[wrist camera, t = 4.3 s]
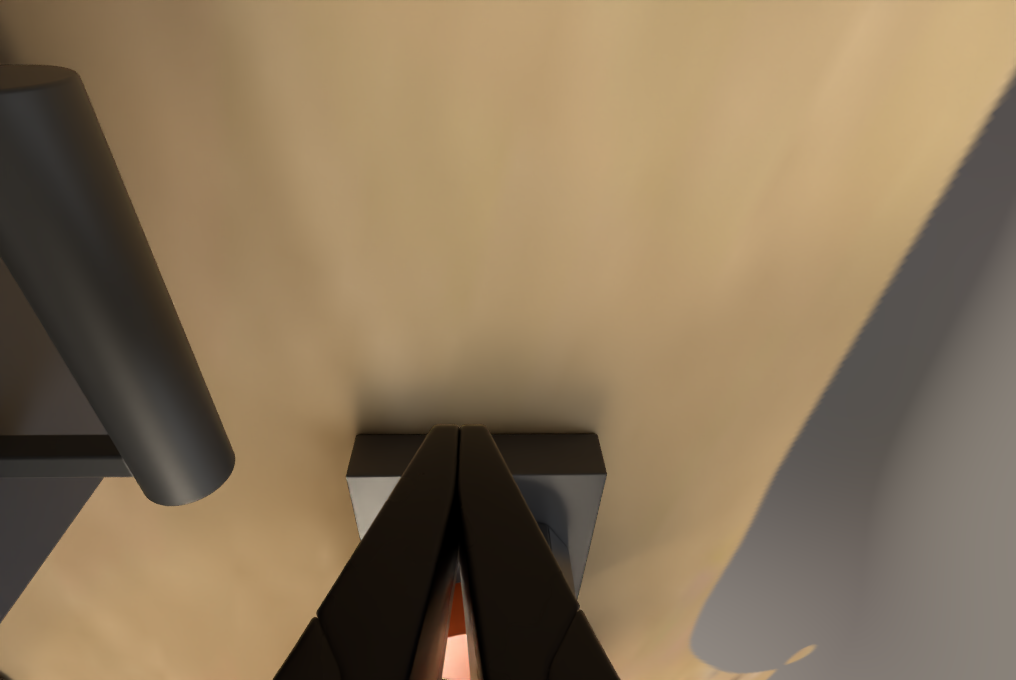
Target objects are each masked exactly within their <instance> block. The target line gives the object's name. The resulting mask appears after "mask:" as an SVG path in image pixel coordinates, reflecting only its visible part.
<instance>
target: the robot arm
mask: <svg viewBox="0 0 1016 680" xmlns="http://www.w3.org/2000/svg"><path fill="white" fill-rule="evenodd" d="M458 553H459V563H460V577H461V587H462V597H463V607H464V617H465V627H466V637H467V647H468V657H469V667H470V677H471V680H620V678H619V676H618V675H617V673H616V671H615V669H614V667H613V666H612V664H611V662H610V660H609V659H608V657H607V655H606V653H605V651H604V650H603V648H602V646H601V644H600V642H599V641H598V639H597V637H596V635H595V633H594V631H593V629H592V627H591V625H590V624H589V622H588V620H587V618H586V616H585V614H584V612H583V611H582V610H579V608H580V605H579V603H578V601H577V599H576V597H575V595H574V593H573V591H572V590H571V588H570V586H569V584H568V582H567V580H566V578H565V576H564V574H563V572H562V570H561V568H560V566H559V564H558V563H557V561H556V559H555V557H554V555H553V553H552V551H551V549H550V547H549V545H548V543H547V541H546V539H545V538H544V536H543V534H542V532H541V530H540V528H539V526H538V524H537V522H536V520H535V518H534V516H533V514H532V513H531V511H530V509H529V507H528V505H527V503H526V501H525V499H524V497H523V495H522V493H521V491H520V489H519V487H518V486H517V484H516V482H515V480H514V478H513V476H512V474H511V472H510V470H509V468H508V466H507V464H506V462H505V461H504V459H503V457H502V455H501V453H500V451H499V449H498V447H497V445H496V443H495V441H494V439H493V437H492V436H491V434H490V432H489V430H488V428H487V427H486V426H485V425H483V424H464V425H462V426H461V427H460V428H459V426H458V425H455V424H438V425H435V426H433V427H432V429H431V430H430V432H429V433H428V435H427V436H426V438H425V440H424V441H423V443H422V444H421V446H420V448H419V449H418V451H417V452H416V454H415V455H414V457H413V459H412V460H411V462H410V463H409V465H408V467H407V468H406V470H405V471H404V473H403V475H402V476H401V478H400V479H399V481H398V483H397V484H396V486H395V487H394V489H393V491H392V492H391V494H390V495H389V497H388V499H387V500H386V502H385V503H384V505H383V507H382V508H381V510H380V511H379V513H378V515H377V516H376V518H375V519H374V521H373V523H372V524H371V526H370V527H369V529H368V531H367V532H366V534H365V535H364V537H363V539H362V540H361V542H360V543H359V545H358V546H357V548H356V550H355V551H354V553H353V554H352V556H351V558H350V559H349V561H348V562H347V564H346V566H345V567H344V569H343V570H342V572H341V574H340V575H339V577H338V578H337V580H336V582H335V583H334V585H333V586H332V588H331V590H330V591H329V593H328V594H327V596H326V598H325V599H324V601H323V602H322V604H321V606H320V607H319V609H318V610H317V613H316V614H317V617H318V618H317V617H314V618H312V619H311V621H310V623H309V624H308V626H307V627H306V629H305V631H304V632H303V634H302V635H301V637H300V639H299V640H298V642H297V643H296V645H295V647H294V648H293V650H292V651H291V653H290V654H289V656H288V657H287V659H286V660H285V662H284V663H283V665H282V666H281V668H280V669H279V671H278V672H277V674H276V675H275V677H274V678H273V680H442V674H443V667H444V660H445V653H446V646H447V638H448V631H449V624H450V617H451V610H452V603H453V596H454V589H455V582H456V575H457V566H458ZM0 680H3V679H1V678H0Z"/></svg>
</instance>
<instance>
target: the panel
mask: <svg viewBox="0 0 1016 680" xmlns="http://www.w3.org/2000/svg"><path fill="white" fill-rule="evenodd" d="M426 436H427V435H357V436H356V438H355V442H354V446H353V450H352V454H351V458H350V462H349V466H348V470H347V474H346V479H347V483H348V488H349V492H350V497H351V501H352V505H353V510H354V514H355V519H356V523H357V527H358V532H359V536H360V541H361V540H362V539H363V537H364V535H365V534H366V532H367V531H368V529H369V527H370V526H371V524H372V523H373V521H374V519H375V518H376V516H377V515H378V513H379V511H380V510H381V508H382V507H383V505H384V503H385V502H386V500H387V499H388V497H389V495H390V494H391V492H392V491H393V489H394V487H395V486H396V484H397V483H398V481H399V479H400V478H401V476H402V475H403V473H404V471H405V470H406V468H407V467H408V465H409V463H410V462H411V460H412V459H413V457H414V455H415V454H416V452H417V451H418V449H419V448H420V446H421V444H422V443H423V441H424V440H425V438H426ZM491 436H492V437H493V439H494V441H495V443H496V445H497V447H498V449H499V451H500V453H501V455H502V457H503V459H504V461H505V462H506V464H507V466H508V468H509V470H510V472H511V474H512V476H513V478H514V480H515V482H516V484H517V486H518V487H519V489H520V491H521V493H522V495H523V497H524V499H525V501H526V503H527V505H528V507H529V509H530V511H531V513H532V514H533V516H534V518H535V520H536V522H537V524H538V526H539V528H540V530H541V532H542V534H543V536H544V538H545V539H546V541H547V543H548V545H549V547H550V549H551V551H552V553H553V555H554V557H555V559H556V561H557V563H558V564H559V566H560V568H561V570H562V572H563V574H564V576H565V578H566V580H567V582H568V584H569V586H570V588H571V590H572V591H573V593H574V595H575V597H576V599H578V595H579V590H580V586H581V582H582V578H583V573H584V569H585V565H586V561H587V556H588V552H589V548H590V544H591V539H592V535H593V531H594V527H595V523H596V518H597V514H598V510H599V506H600V501H601V497H602V493H603V489H604V484H605V480H606V476H607V472H606V468H605V463H604V459H603V455H602V451H601V447H600V443H599V439H598V435H597V434H507V435H491ZM460 582H461V577H460V563H459V553H458V566H457V575H456V582H455V584H456V583H460Z"/></svg>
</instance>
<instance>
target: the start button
mask: <svg viewBox="0 0 1016 680" xmlns="http://www.w3.org/2000/svg"><path fill="white" fill-rule="evenodd" d="M442 678H445V679H449V680H471V677H470V667H469V657H468V647H467V637H466V627H465V617H464V607H463V597H462V587H461V582H460V583H456V584H455V589H454V596H453V603H452V610H451V617H450V624H449V631H448V638H447V646H446V653H445V660H444V667H443V674H442Z"/></svg>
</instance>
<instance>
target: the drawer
mask: <svg viewBox="0 0 1016 680" xmlns="http://www.w3.org/2000/svg"><path fill="white" fill-rule="evenodd" d="M234 465H235V454H234V451H233V449H232V447H231V444H230V442H229V439H228V437H227V434H226V432H225V429H224V427H223V425H222V422H221V420H220V417H219V415H218V412H217V410H216V407H215V405H214V403H213V400H212V398H211V395H210V393H209V390H208V388H207V385H206V383H205V381H204V378H203V376H202V373H201V371H200V368H199V366H198V363H197V361H196V359H195V356H194V354H193V351H192V349H191V346H190V344H189V341H188V339H187V337H186V334H185V332H184V329H183V327H182V324H181V322H180V320H179V317H178V315H177V312H176V310H175V307H174V305H173V302H172V300H171V298H170V295H169V293H168V290H167V288H166V285H165V283H164V280H163V278H162V276H161V273H160V271H159V268H158V266H157V263H156V261H155V258H154V256H153V254H152V251H151V249H150V246H149V244H148V241H147V239H146V236H145V234H144V232H143V229H142V227H141V224H140V222H139V219H138V217H137V215H136V212H135V210H134V207H133V205H132V202H131V200H130V197H129V195H128V193H127V190H126V188H125V185H124V183H123V180H122V178H121V175H120V173H119V171H118V168H117V166H116V163H115V161H114V158H113V156H112V153H111V151H110V149H109V146H108V144H107V141H106V139H105V136H104V134H103V131H102V129H101V127H100V124H99V122H98V119H97V117H96V114H95V112H94V109H93V107H92V105H91V102H90V100H89V97H88V95H87V92H86V90H85V88H84V85H83V83H82V80H81V78H80V76H79V74H78V73H77V72H76V71H74V70H71V69H68V68H64V67H58V66H49V65H0V623H1V622H2V620H3V619H4V618H5V616H6V615H7V613H8V612H9V611H10V609H11V608H12V606H13V605H14V603H15V602H16V601H17V599H18V598H19V596H20V595H21V594H22V592H23V591H24V589H25V588H26V587H27V585H28V584H29V582H30V581H31V580H32V578H33V577H34V575H35V574H36V572H37V571H38V570H39V568H40V567H41V565H42V564H43V563H44V561H45V560H46V558H47V557H48V556H49V554H50V553H51V551H52V550H53V549H54V547H55V546H56V544H57V543H58V541H59V540H60V539H61V537H62V536H63V534H64V533H65V532H66V530H67V529H68V527H69V526H70V525H71V523H72V522H73V520H74V519H75V518H76V516H77V515H78V513H79V512H80V510H81V509H82V508H83V506H84V505H85V503H86V502H87V501H88V499H89V498H90V496H91V495H92V494H93V492H94V491H95V489H96V488H97V486H98V485H99V484H100V482H101V481H102V479H103V478H104V477H134V478H135V479H136V481H137V483H138V484H139V486H140V488H141V489H142V491H143V493H144V494H145V496H146V497H147V498H148V499H149V500H150V501H152V502H154V503H156V504H160V505H164V506H179V505H185V504H189V503H192V502H195V501H198V500H200V499H202V498H204V497H206V496H208V495H210V494H211V493H213V492H214V491H215V490H217V489H218V488H219V487H220V486H221V485H223V484H224V482H225V481H226V480H227V479H228V478H229V476H230V475H231V473H232V471H233V468H234Z"/></svg>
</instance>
